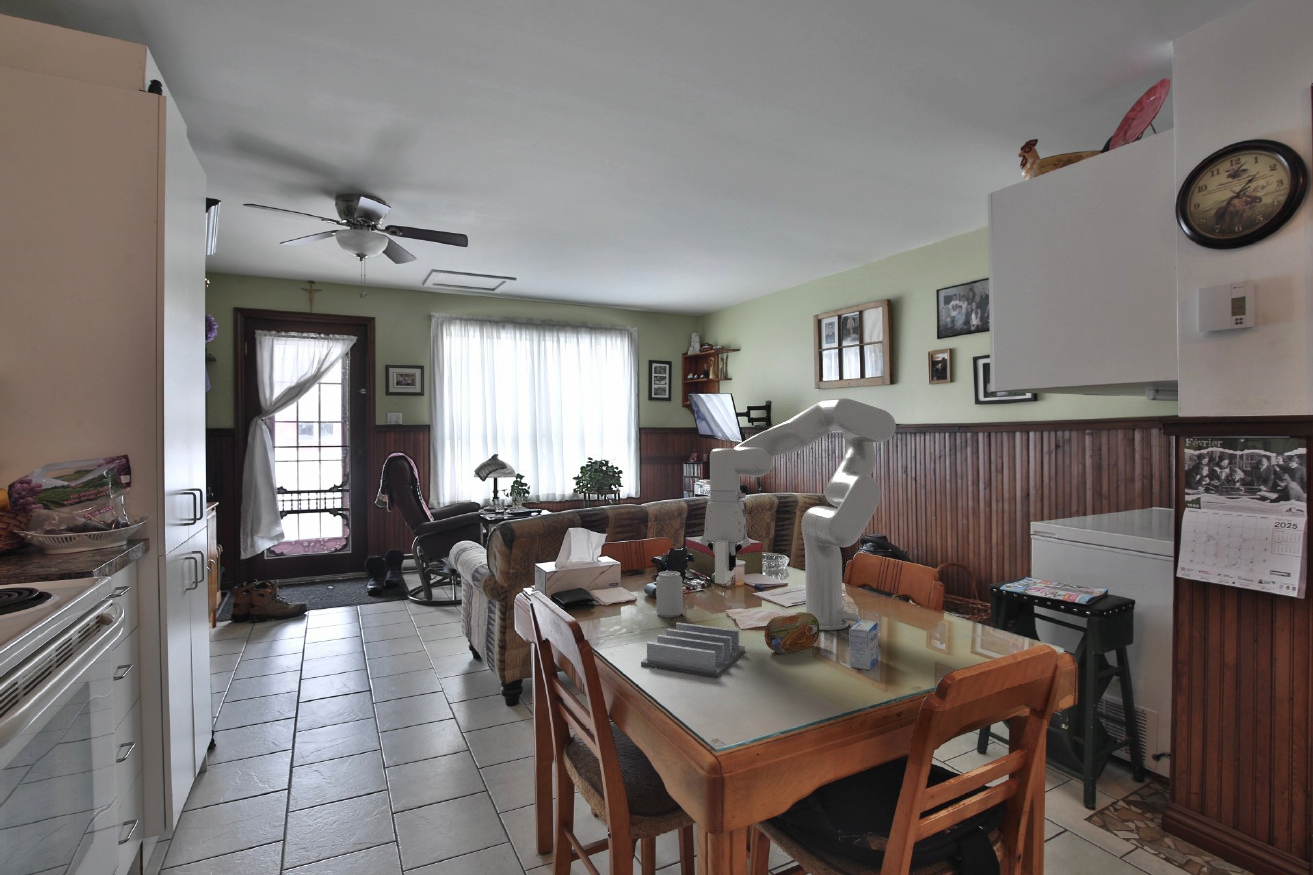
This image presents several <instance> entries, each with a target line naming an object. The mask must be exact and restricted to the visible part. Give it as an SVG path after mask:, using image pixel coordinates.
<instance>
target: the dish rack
mask: <svg viewBox="0 0 1313 875" xmlns="http://www.w3.org/2000/svg"><path fill="white" fill-rule="evenodd" d="M656 638H657V642H653V641H647V643H646V657H645V658H644V659H642V661H641V662H640V667H644V668H649V667H650V668H651V669H656V670H661V671H668V672H673V671H674V672H676V673H679V674H687V675H693V676H700V677H706V678H711V679H716V680H717V679H718V678H719V677H720V676H721V675H722V674H723V673H724V672H725V671H726V670H727V669H728V668H729V667H730V666H731V665H732V664H733V663H734V662H735V661H736V660H738V658H739V657H740V656H742V654H743V653H744V652H745V650H746V647H745V645H740V630H738V629H732V628H731V629H730V628H724V627H715V626H709V625H701V624H692V623H684V622H677V621H676V623H675V629H673V628H667V629H666V634H665V635H663V634H658V635H657V637H656Z"/></svg>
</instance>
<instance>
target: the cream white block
mask: <svg viewBox="0 0 1313 875" xmlns="http://www.w3.org/2000/svg"><path fill="white" fill-rule="evenodd" d="M730 552H731V550H730V543H729V542H728V540H717V541H716V542H715V554H714V583H715V584H721V585H722V584H724V585H725V584H726V583H727V582H729V580H730V579H731V578H733V576H734V575H736V567H734V569H733V570H732V571H729V555H730Z"/></svg>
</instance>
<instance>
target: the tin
mask: <svg viewBox="0 0 1313 875" xmlns="http://www.w3.org/2000/svg"><path fill="white" fill-rule="evenodd" d="M820 631H821V630H820V628H819V623H818V620H817V619H816V617H815V616H814V615H812V614H810V613H806V611H798V612H794V613H789V614H784V615H778V616H774V617H773V618H771V619H770V620H769V621H768V622H767V624H766V625H765V628H764V640H765V644H766V646H767V647H768V649H770V650H772V651H774V652H776V653H777V654H781V655H783V654H790V653H793V652H796V651H801V650H806V649H810V648H811V647H813V646H815V644H816V642H817V641H818V639H819V636H820Z"/></svg>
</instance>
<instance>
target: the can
mask: <svg viewBox="0 0 1313 875" xmlns="http://www.w3.org/2000/svg"><path fill="white" fill-rule="evenodd" d="M655 578H656V582H655V583H656V584H655V585H656V588H655V589H656V613H657V614H658V615H659V616H660V617H663V618H677V617H680V616H681V614H683V612H684V610H683V609H684V607H683V606H684V605H683V600H684V599H683V577H682V576H681V572H678V571H676V570H675V571H674V570H673V571H672V570H665V571H660V572H658V576H657V577H655Z"/></svg>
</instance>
